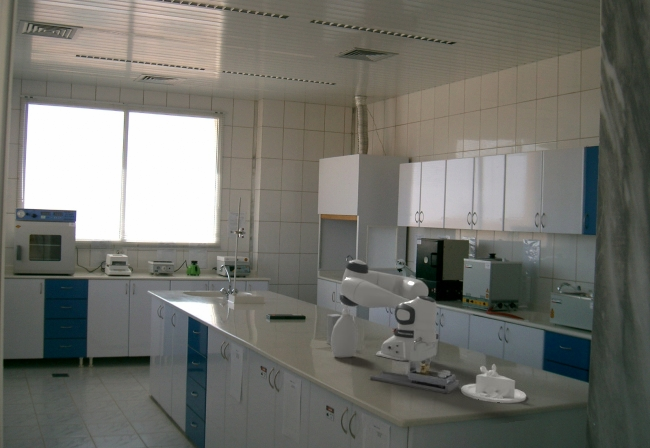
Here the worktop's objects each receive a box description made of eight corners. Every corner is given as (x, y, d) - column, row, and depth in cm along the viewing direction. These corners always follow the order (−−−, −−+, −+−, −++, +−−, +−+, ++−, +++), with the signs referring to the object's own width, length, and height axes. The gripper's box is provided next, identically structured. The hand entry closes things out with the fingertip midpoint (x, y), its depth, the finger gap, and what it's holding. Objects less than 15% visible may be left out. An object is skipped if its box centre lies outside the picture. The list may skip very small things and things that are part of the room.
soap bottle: (351, 354, 325) (354, 299, 324) (360, 357, 317) (363, 301, 317) (325, 355, 318) (328, 299, 318) (333, 359, 311) (336, 301, 311)
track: (370, 379, 274) (370, 372, 274) (383, 374, 285) (383, 367, 285) (448, 393, 257) (448, 386, 257) (458, 387, 267) (459, 380, 267)
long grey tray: (406, 383, 267) (407, 361, 267) (416, 379, 276) (417, 357, 276) (446, 390, 259) (447, 367, 258) (454, 385, 267) (455, 363, 267)
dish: (448, 392, 260) (450, 364, 260) (483, 383, 278) (484, 357, 278) (504, 407, 243) (505, 377, 243) (537, 397, 260) (538, 368, 260)
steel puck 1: (437, 380, 261) (438, 373, 261) (437, 379, 264) (437, 371, 264) (446, 381, 261) (446, 374, 261) (445, 380, 264) (446, 372, 264)
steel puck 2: (440, 378, 266) (440, 371, 266) (443, 377, 269) (443, 369, 269) (448, 380, 264) (448, 372, 264) (451, 378, 267) (451, 371, 267)
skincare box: (343, 346, 344) (345, 315, 344) (331, 346, 341) (332, 315, 341) (337, 343, 352) (338, 313, 352) (325, 343, 349) (326, 313, 349)
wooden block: (425, 377, 266) (425, 366, 266) (416, 375, 268) (416, 364, 268) (429, 375, 270) (429, 364, 270) (419, 374, 272) (420, 363, 272)
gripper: (422, 340, 258) (420, 375, 258) (440, 334, 276) (439, 367, 276) (407, 338, 262) (405, 373, 262) (426, 332, 279) (424, 364, 279)
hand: (422, 370), depth 269 cm, fingers open, 7 cm apart
